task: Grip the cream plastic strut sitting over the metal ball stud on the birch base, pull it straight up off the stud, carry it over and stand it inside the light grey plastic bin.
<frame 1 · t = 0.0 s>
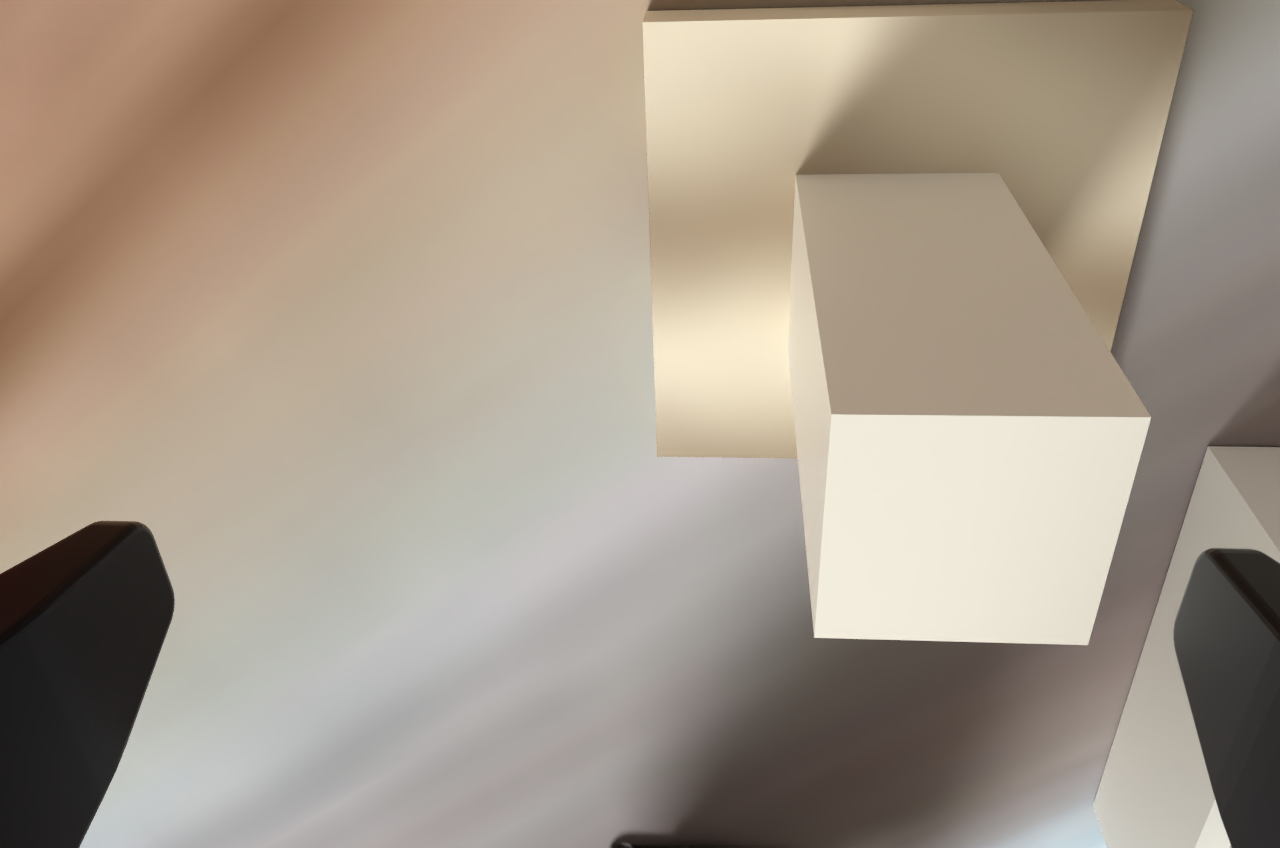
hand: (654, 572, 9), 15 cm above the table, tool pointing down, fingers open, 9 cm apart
strut: (886, 265, 22), point 1 cm above the table, touching stud base
stud base: (881, 246, 23), on the table
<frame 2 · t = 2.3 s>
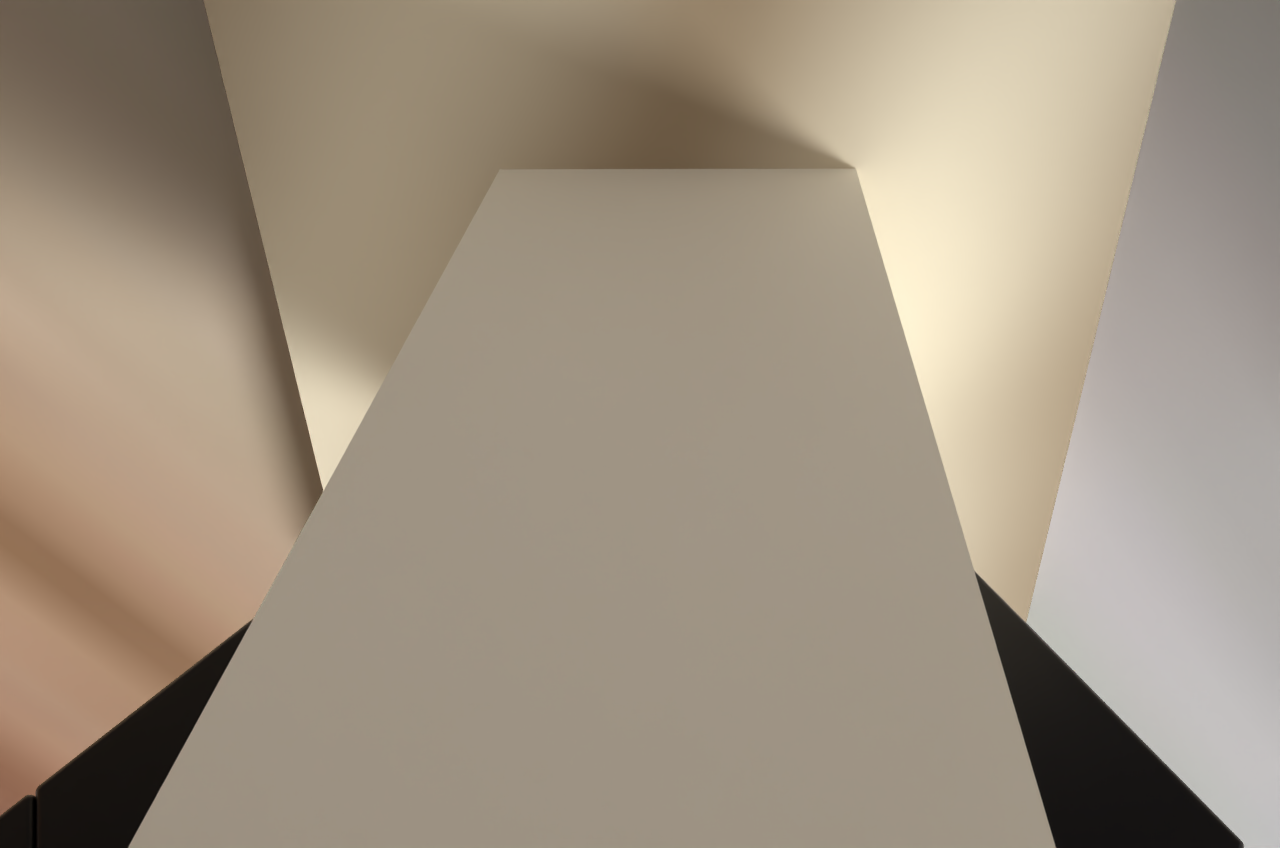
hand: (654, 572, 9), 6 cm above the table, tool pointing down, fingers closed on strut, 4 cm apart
strut: (676, 327, 13), point 1 cm above the table, touching gripper, stud base
stud base: (680, 291, 14), on the table
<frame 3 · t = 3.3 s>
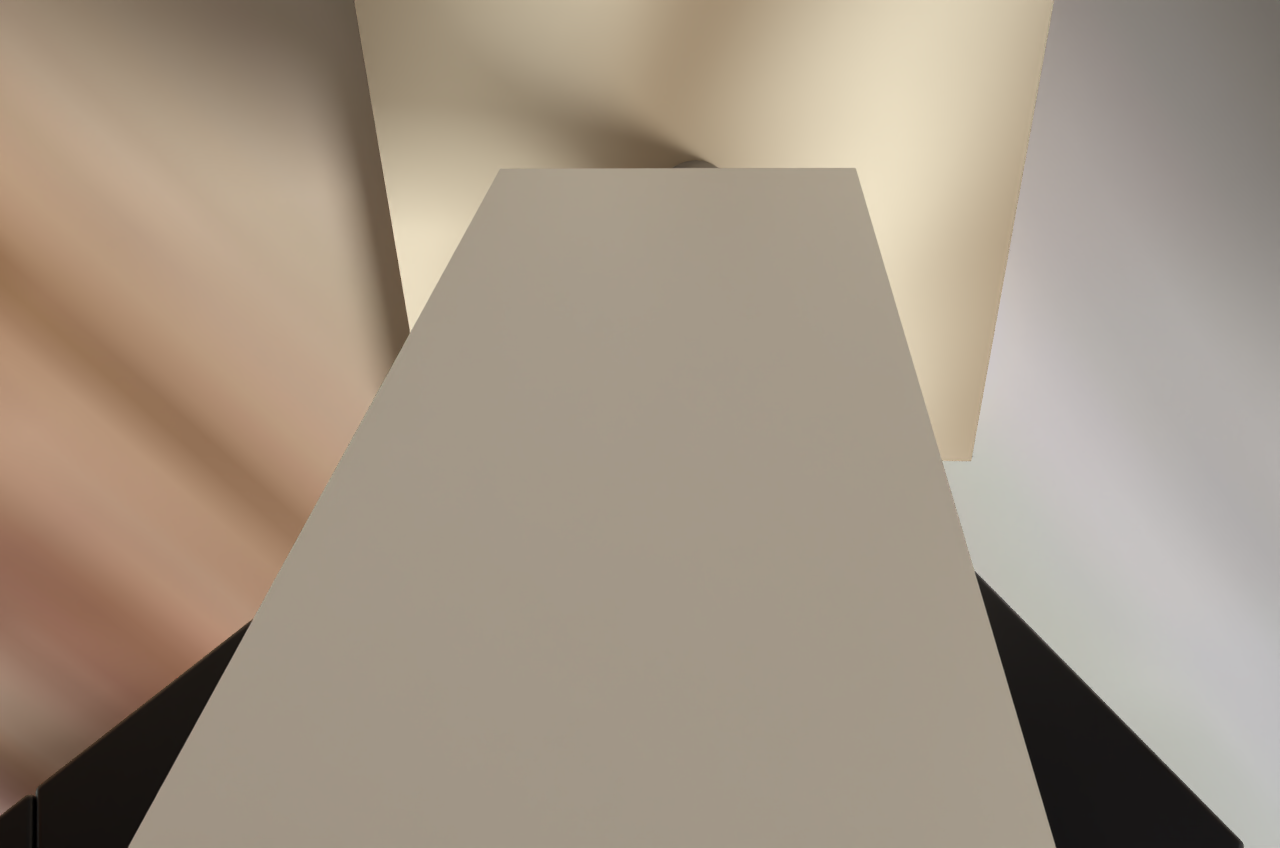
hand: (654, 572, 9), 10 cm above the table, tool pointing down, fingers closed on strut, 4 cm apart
strut: (677, 326, 13), point 5 cm above the table, touching gripper
stud base: (697, 175, 17), on the table
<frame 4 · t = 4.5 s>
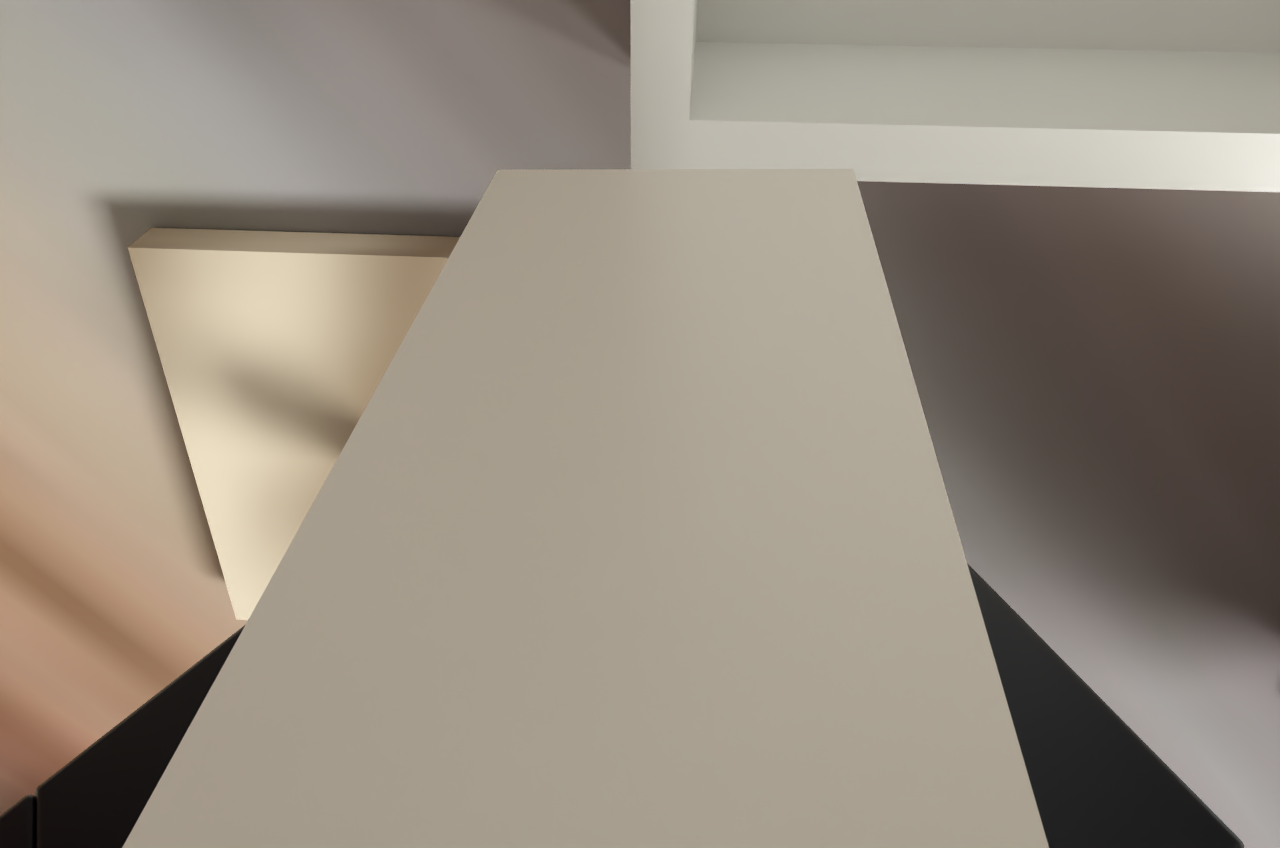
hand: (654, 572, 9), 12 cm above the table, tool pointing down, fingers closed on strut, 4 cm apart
strut: (674, 327, 13), point 8 cm above the table, touching gripper
stud base: (420, 439, 24), on the table
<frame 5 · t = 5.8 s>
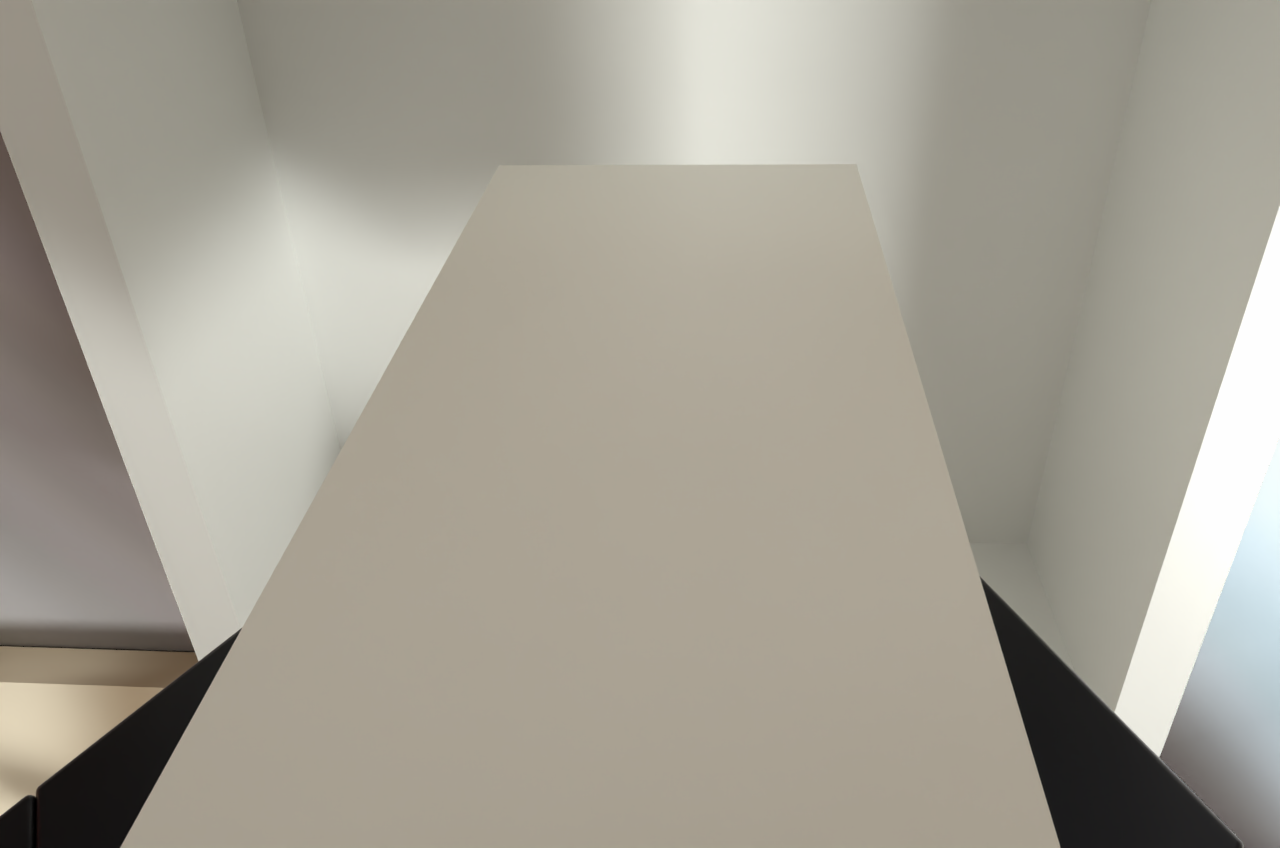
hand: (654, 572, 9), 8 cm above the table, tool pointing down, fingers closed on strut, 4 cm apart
strut: (677, 323, 13), point 4 cm above the table, touching gripper
grey bin: (683, 206, 16), on the table
stud base: (190, 798, 25), on the table
when the fingers open (7 cm above the table, at t = 6.8 s): strut drops 1 cm, resting on grey bin.
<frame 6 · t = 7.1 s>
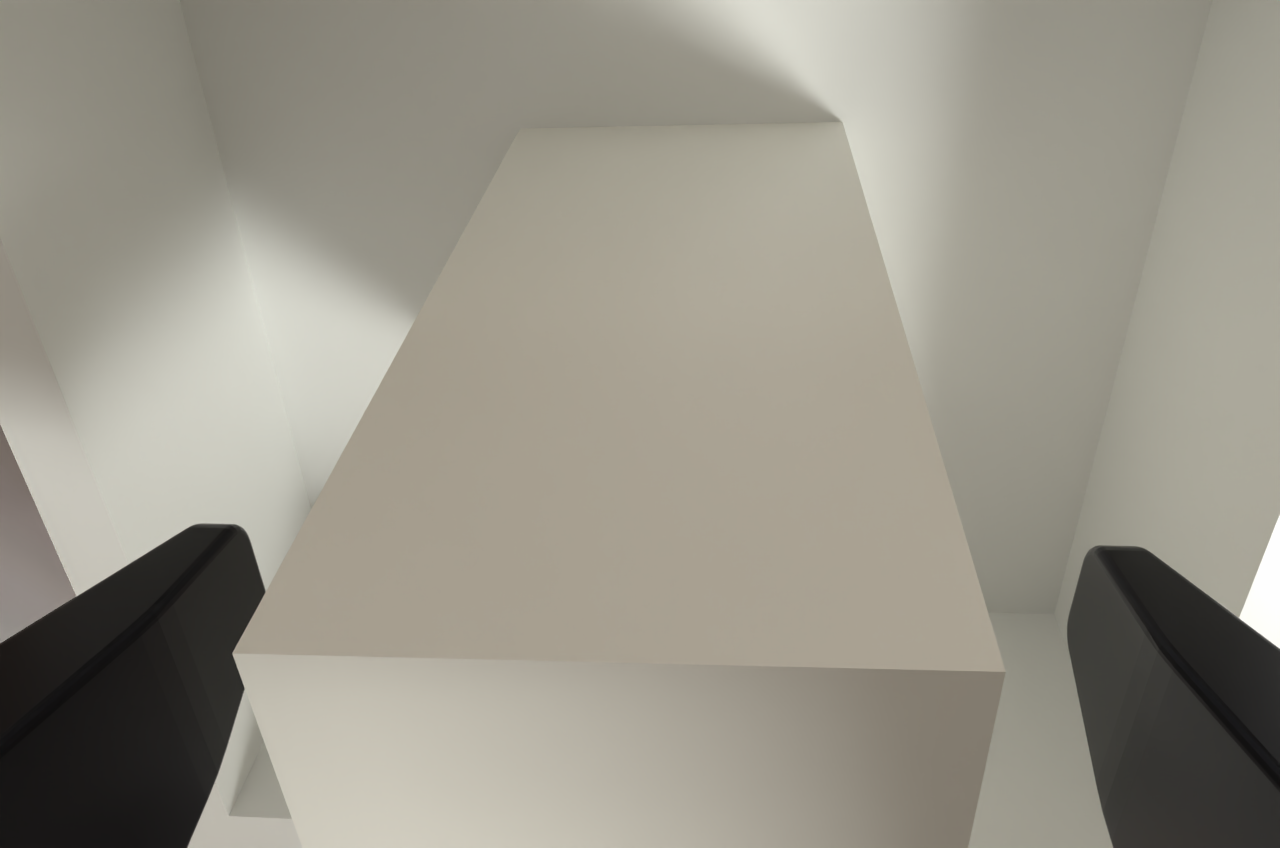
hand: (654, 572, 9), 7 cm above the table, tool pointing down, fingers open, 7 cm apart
strut: (682, 272, 14), point 1 cm above the table, touching grey bin
grey bin: (682, 255, 14), on the table
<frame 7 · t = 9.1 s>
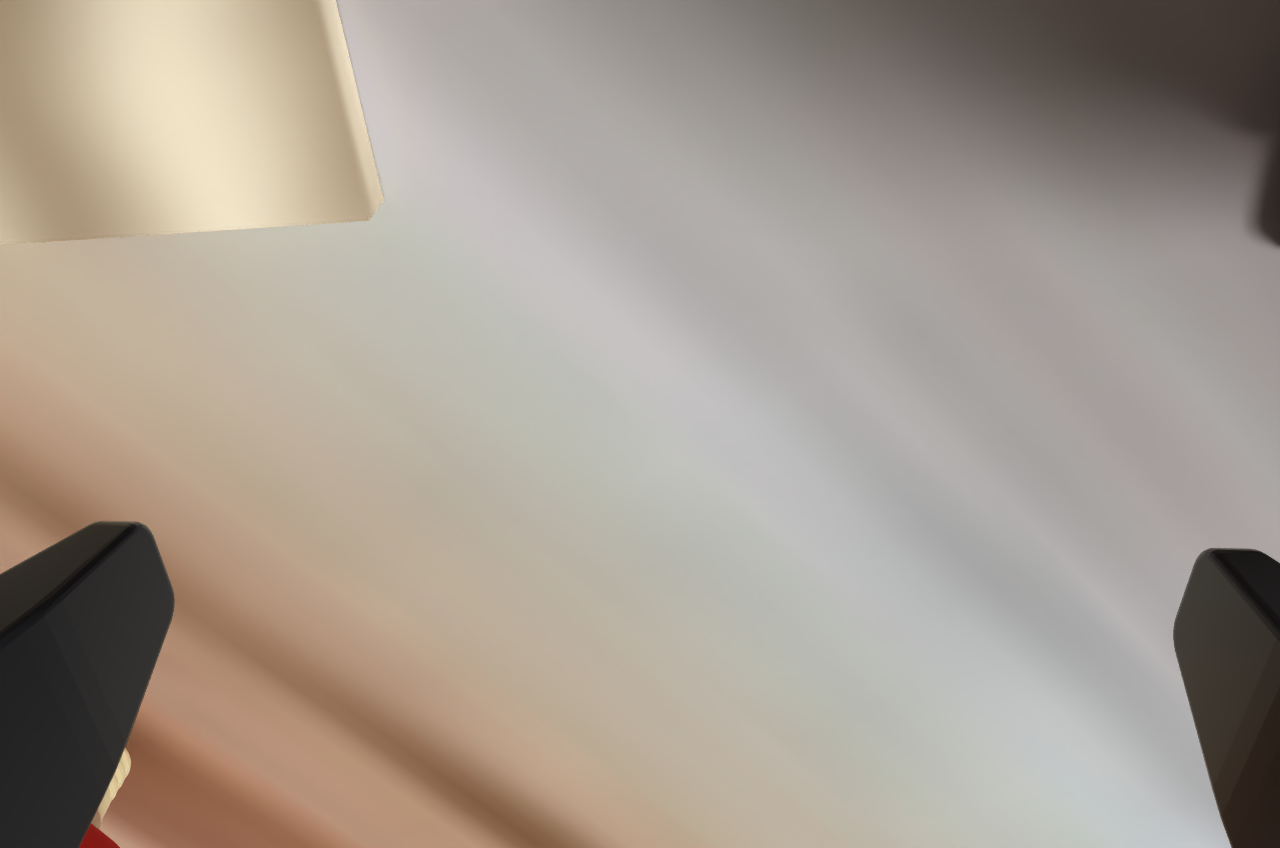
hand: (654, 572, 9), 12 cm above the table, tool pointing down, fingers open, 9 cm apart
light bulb: (102, 723, 30), on the table
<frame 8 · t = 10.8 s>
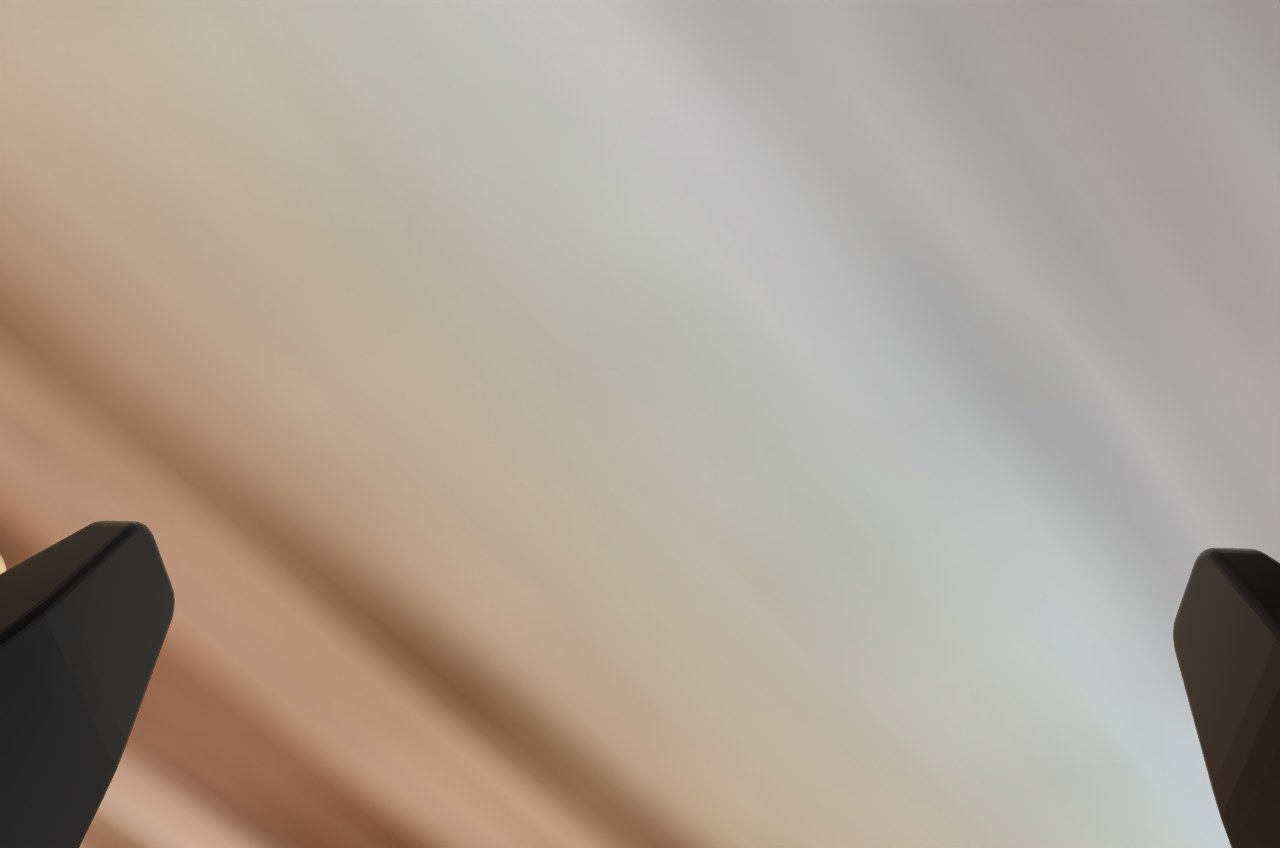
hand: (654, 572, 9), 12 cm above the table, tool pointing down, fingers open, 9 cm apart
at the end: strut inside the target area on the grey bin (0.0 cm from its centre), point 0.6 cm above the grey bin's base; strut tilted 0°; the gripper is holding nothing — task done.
